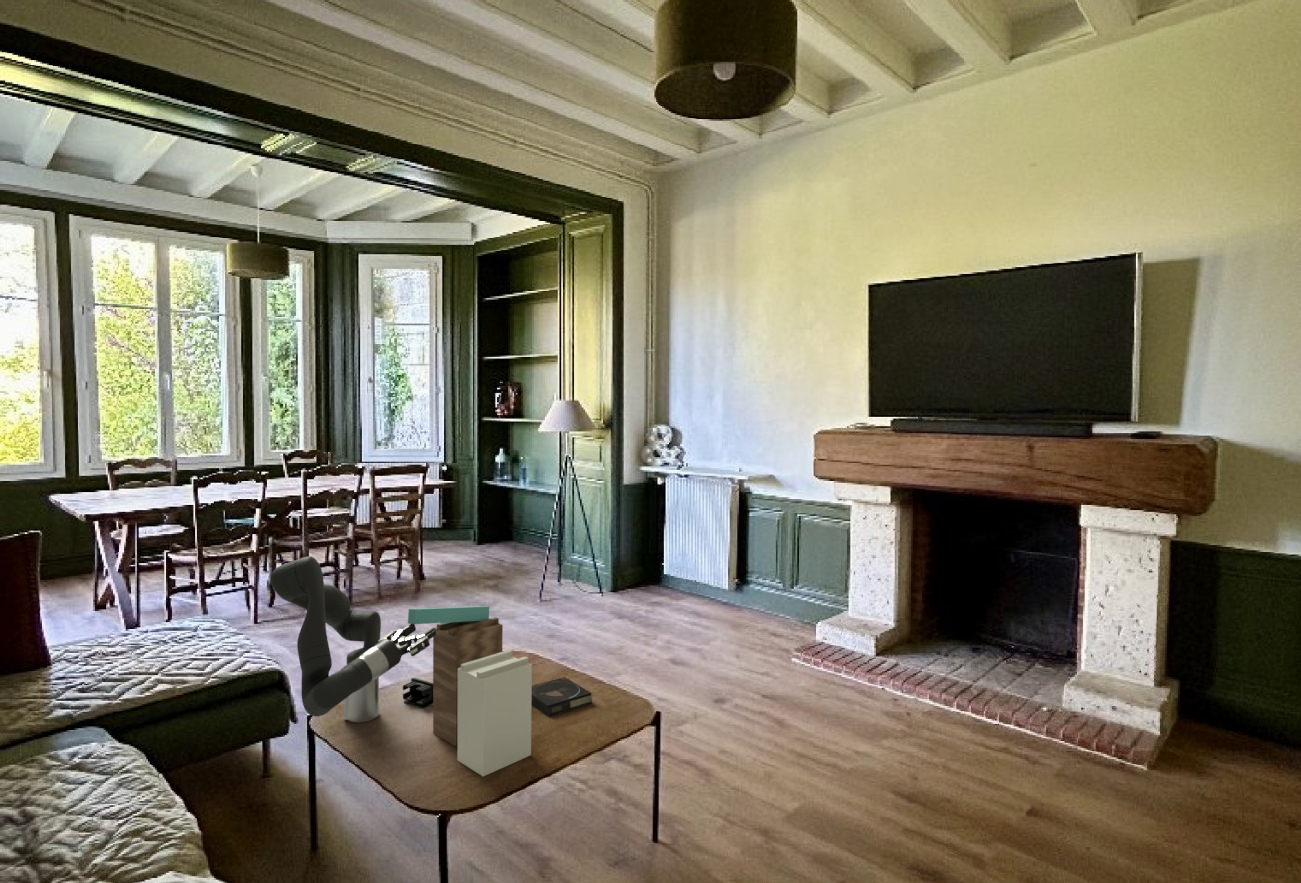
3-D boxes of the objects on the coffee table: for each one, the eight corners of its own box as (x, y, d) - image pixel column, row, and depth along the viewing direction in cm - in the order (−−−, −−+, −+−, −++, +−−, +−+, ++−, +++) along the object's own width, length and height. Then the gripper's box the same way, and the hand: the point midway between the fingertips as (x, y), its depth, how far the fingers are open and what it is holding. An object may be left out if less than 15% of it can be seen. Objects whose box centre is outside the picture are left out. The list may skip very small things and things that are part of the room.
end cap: (440, 701, 237) (440, 681, 237) (424, 709, 231) (424, 688, 231) (418, 695, 242) (418, 675, 242) (401, 702, 236) (401, 682, 236)
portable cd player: (548, 718, 227) (548, 706, 227) (522, 700, 241) (522, 688, 240) (592, 705, 238) (592, 693, 237) (564, 688, 251) (564, 677, 251)
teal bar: (414, 624, 201) (415, 609, 202) (407, 623, 204) (408, 608, 204) (488, 620, 218) (489, 606, 219) (481, 619, 221) (482, 606, 221)
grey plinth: (482, 776, 191) (483, 674, 190) (457, 760, 199) (457, 662, 198) (530, 755, 203) (531, 659, 201) (505, 740, 211) (505, 648, 209)
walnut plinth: (455, 746, 207) (456, 632, 205) (433, 733, 215) (433, 622, 213) (501, 728, 219) (502, 619, 217) (478, 716, 227) (479, 611, 225)
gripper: (391, 652, 185) (438, 619, 198) (356, 644, 192) (404, 613, 205) (399, 677, 187) (445, 644, 200) (364, 668, 194) (410, 636, 207)
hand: (424, 628), depth 202 cm, fingers open, 8 cm apart
